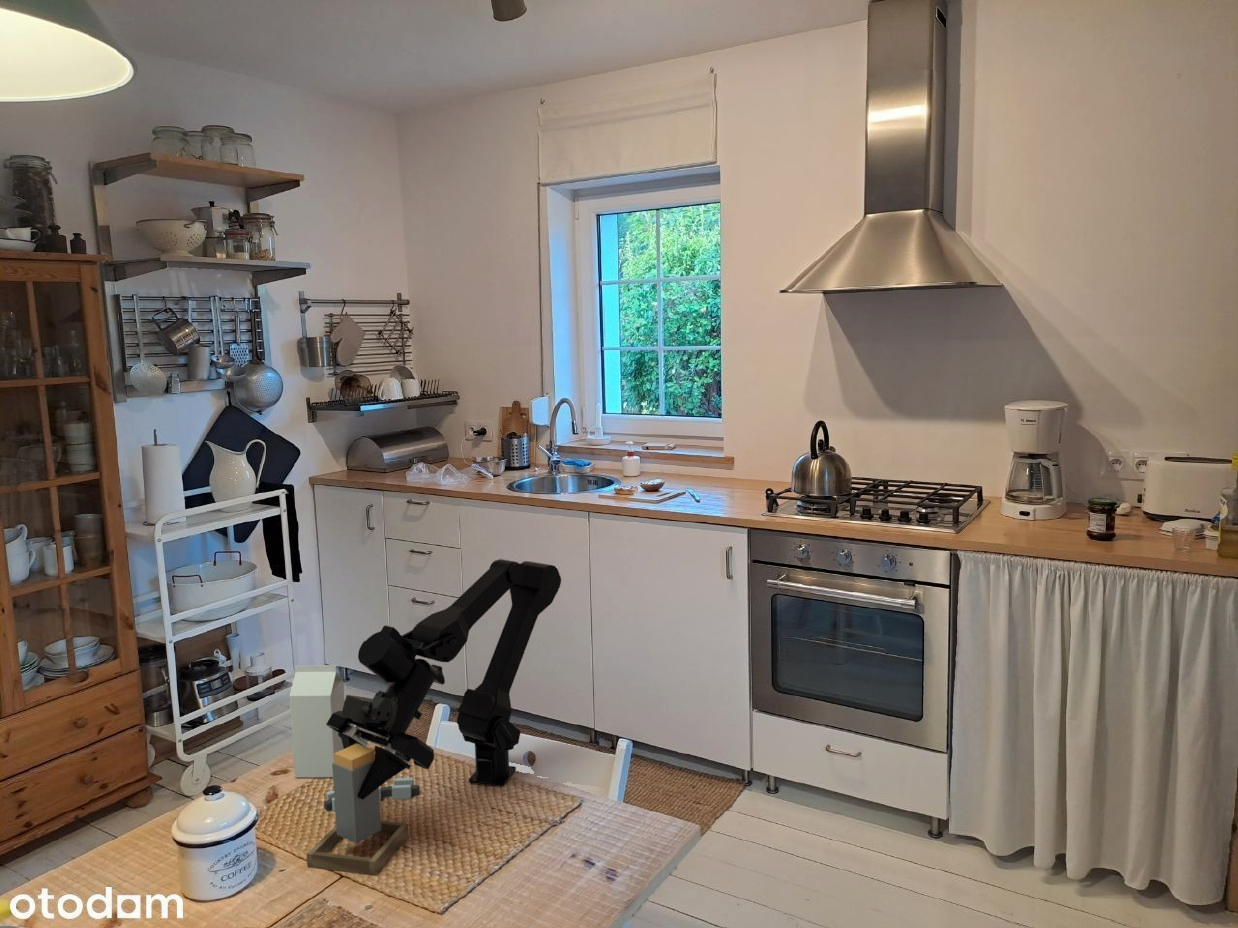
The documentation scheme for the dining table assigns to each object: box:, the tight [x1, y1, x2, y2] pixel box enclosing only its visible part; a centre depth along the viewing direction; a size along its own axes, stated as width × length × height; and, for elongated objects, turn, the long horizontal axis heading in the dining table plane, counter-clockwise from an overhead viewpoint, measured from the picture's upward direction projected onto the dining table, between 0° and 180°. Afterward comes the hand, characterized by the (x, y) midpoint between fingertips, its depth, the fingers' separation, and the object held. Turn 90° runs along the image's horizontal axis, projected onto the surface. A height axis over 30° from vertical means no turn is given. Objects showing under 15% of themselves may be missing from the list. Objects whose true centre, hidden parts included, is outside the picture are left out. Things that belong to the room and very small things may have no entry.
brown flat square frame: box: [306, 820, 410, 876], centre depth 133 cm, size 11×11×2 cm
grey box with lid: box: [332, 743, 382, 845], centre depth 132 cm, size 4×4×12 cm
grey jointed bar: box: [323, 777, 421, 813], centre depth 148 cm, size 4×15×2 cm, turn 110°
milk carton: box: [289, 664, 345, 778], centre depth 158 cm, size 7×7×19 cm
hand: (349, 793), depth 131 cm, fingers closed on grey box with lid, 4 cm apart
